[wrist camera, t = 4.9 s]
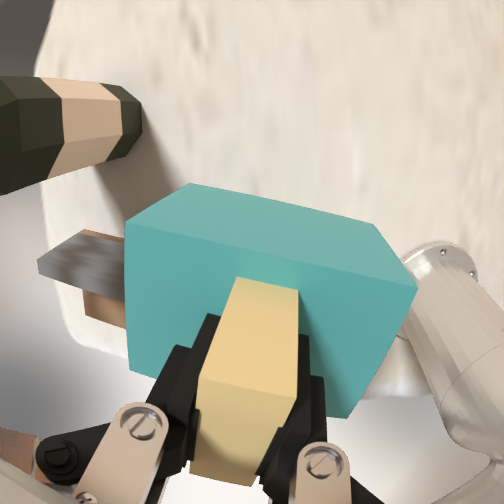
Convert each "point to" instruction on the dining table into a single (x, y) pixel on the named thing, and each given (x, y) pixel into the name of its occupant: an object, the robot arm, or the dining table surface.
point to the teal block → (259, 310)
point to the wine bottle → (61, 127)
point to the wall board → (91, 272)
